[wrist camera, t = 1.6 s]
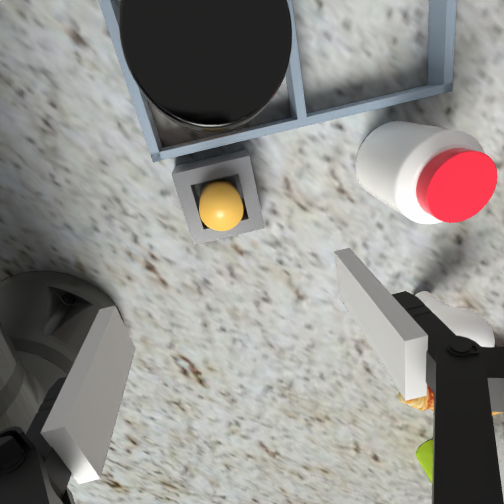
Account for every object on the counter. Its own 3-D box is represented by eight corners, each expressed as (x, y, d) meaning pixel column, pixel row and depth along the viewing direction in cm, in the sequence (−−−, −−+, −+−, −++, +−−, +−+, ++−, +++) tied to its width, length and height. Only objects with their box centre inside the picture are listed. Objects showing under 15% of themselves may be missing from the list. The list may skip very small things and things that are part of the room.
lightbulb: (436, 313, 45) (501, 376, 35) (392, 318, 45) (444, 384, 35) (445, 272, 42) (517, 328, 33) (398, 277, 42) (457, 336, 32)
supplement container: (135, 101, 30) (96, 109, 20) (156, -42, 26) (121, -131, 16) (249, 135, 33) (269, 158, 22) (284, 8, 29) (330, -40, 18)
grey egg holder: (195, 231, 36) (194, 245, 33) (175, 166, 33) (171, 174, 30) (259, 215, 36) (264, 227, 33) (245, 149, 33) (249, 155, 30)
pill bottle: (341, 178, 36) (391, 212, 26) (384, 105, 33) (459, 113, 23) (397, 208, 38) (464, 250, 28) (442, 142, 35) (533, 163, 25)
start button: (205, 222, 33) (205, 235, 30) (194, 184, 32) (193, 194, 29) (243, 212, 34) (247, 225, 30) (235, 174, 32) (238, 184, 29)
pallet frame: (156, 157, 33) (153, 162, 30) (96, -28, 26) (85, -39, 24) (435, 90, 33) (452, 91, 31) (441, -107, 27) (462, -125, 25)
